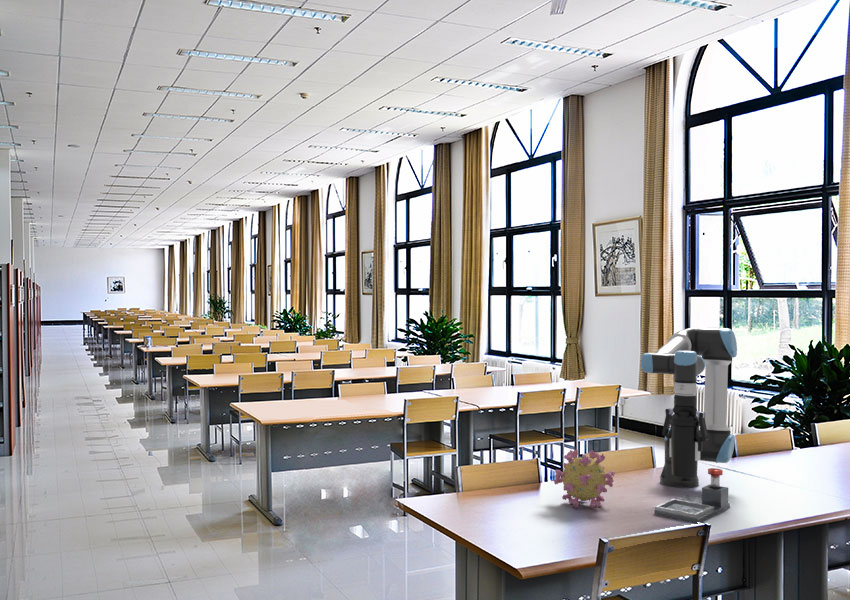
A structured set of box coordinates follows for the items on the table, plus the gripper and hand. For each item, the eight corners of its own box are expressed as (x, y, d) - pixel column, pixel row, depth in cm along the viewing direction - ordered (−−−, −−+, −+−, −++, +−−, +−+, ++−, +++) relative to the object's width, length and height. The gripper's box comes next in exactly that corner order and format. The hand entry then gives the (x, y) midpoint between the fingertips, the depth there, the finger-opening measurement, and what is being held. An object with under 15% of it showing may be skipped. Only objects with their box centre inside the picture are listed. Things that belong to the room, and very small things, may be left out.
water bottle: (700, 473, 273) (701, 409, 273) (698, 479, 264) (698, 412, 264) (671, 470, 277) (671, 407, 277) (667, 476, 268) (668, 410, 268)
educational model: (576, 494, 297) (576, 443, 297) (627, 505, 281) (628, 451, 281) (540, 505, 281) (540, 451, 281) (592, 518, 265) (593, 461, 265)
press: (654, 514, 270) (654, 493, 270) (687, 499, 291) (687, 479, 291) (698, 523, 259) (698, 501, 259) (729, 507, 280) (730, 486, 280)
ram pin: (705, 491, 278) (705, 469, 278) (711, 489, 282) (711, 467, 282) (719, 494, 275) (719, 472, 275) (724, 491, 279) (724, 469, 279)
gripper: (652, 392, 275) (651, 455, 275) (711, 398, 261) (710, 464, 261) (661, 391, 281) (660, 452, 281) (719, 396, 266) (719, 461, 266)
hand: (684, 458), depth 271 cm, fingers closed on water bottle, 9 cm apart
